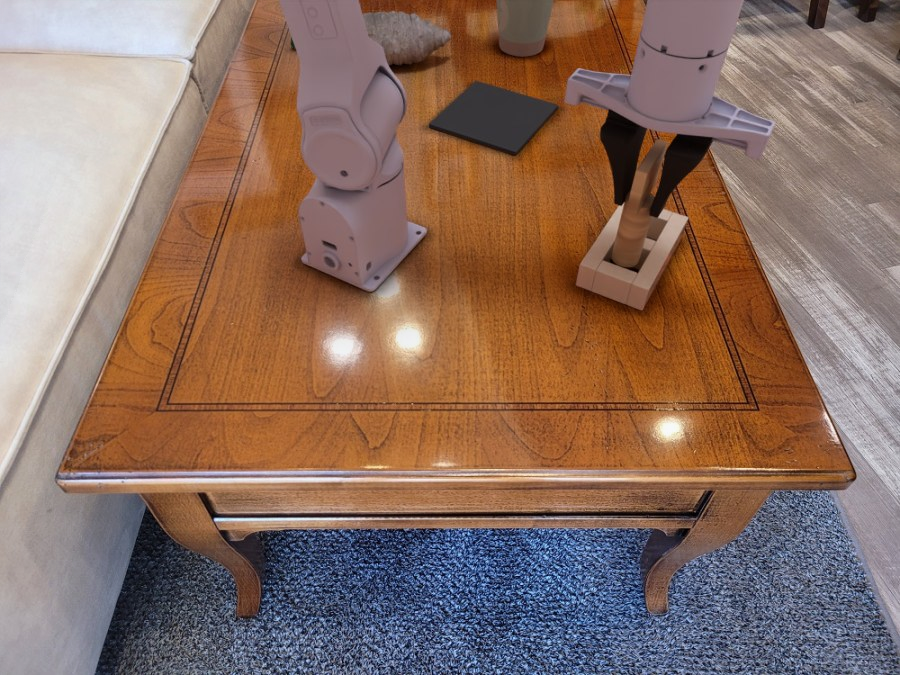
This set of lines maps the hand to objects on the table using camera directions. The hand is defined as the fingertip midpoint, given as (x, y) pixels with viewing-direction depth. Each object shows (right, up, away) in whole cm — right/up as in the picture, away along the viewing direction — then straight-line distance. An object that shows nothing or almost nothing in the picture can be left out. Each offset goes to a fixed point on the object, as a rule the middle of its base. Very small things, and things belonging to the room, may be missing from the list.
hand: (639, 204), depth 55 cm
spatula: (0, -4, +4) cm, 6 cm away
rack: (+1, -4, +7) cm, 8 cm away
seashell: (-22, +24, +32) cm, 46 cm away
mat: (-10, +14, +23) cm, 29 cm away
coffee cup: (-6, +27, +34) cm, 45 cm away
